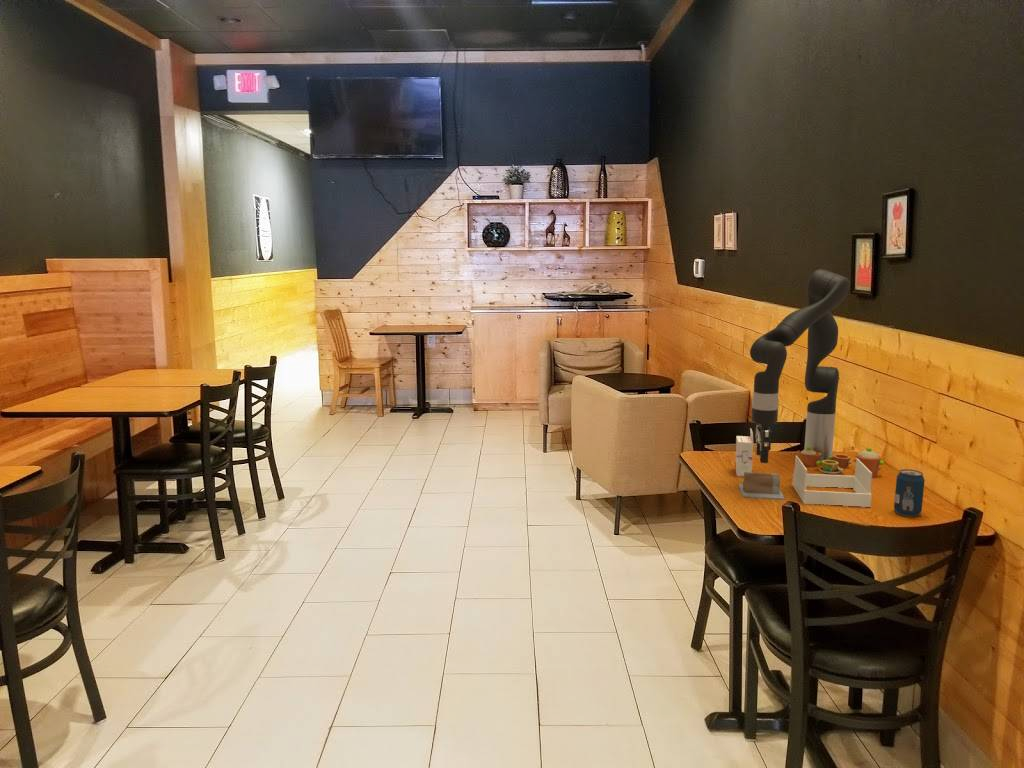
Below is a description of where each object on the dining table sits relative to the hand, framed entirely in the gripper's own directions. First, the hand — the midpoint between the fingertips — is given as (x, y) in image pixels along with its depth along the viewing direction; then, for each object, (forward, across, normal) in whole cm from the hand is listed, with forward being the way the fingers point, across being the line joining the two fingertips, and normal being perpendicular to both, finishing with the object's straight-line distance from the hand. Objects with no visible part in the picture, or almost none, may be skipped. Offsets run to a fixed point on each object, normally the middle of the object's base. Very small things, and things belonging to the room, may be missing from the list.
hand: (761, 458), depth 229 cm
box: (+10, 0, 0) cm, 10 cm away
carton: (+10, 0, -20) cm, 23 cm away
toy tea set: (+12, +30, -30) cm, 44 cm away
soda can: (+11, -12, -38) cm, 42 cm away
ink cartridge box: (+11, +20, +3) cm, 23 cm away
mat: (+10, 0, 0) cm, 11 cm away
